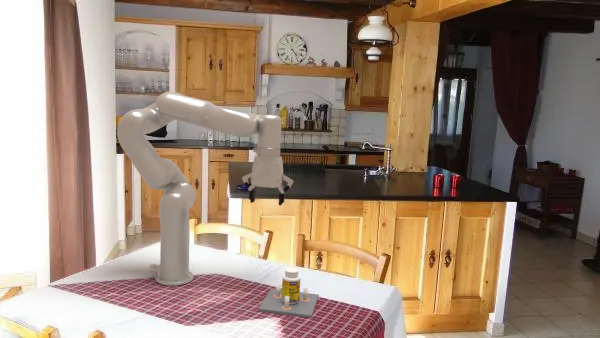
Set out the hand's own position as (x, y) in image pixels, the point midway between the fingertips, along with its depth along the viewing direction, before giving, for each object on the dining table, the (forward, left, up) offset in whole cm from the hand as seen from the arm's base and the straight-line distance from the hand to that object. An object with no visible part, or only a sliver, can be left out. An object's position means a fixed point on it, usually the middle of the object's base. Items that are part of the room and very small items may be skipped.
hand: (266, 203), depth 166 cm
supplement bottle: (+12, -13, -28) cm, 33 cm away
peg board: (+12, -13, -28) cm, 33 cm away
